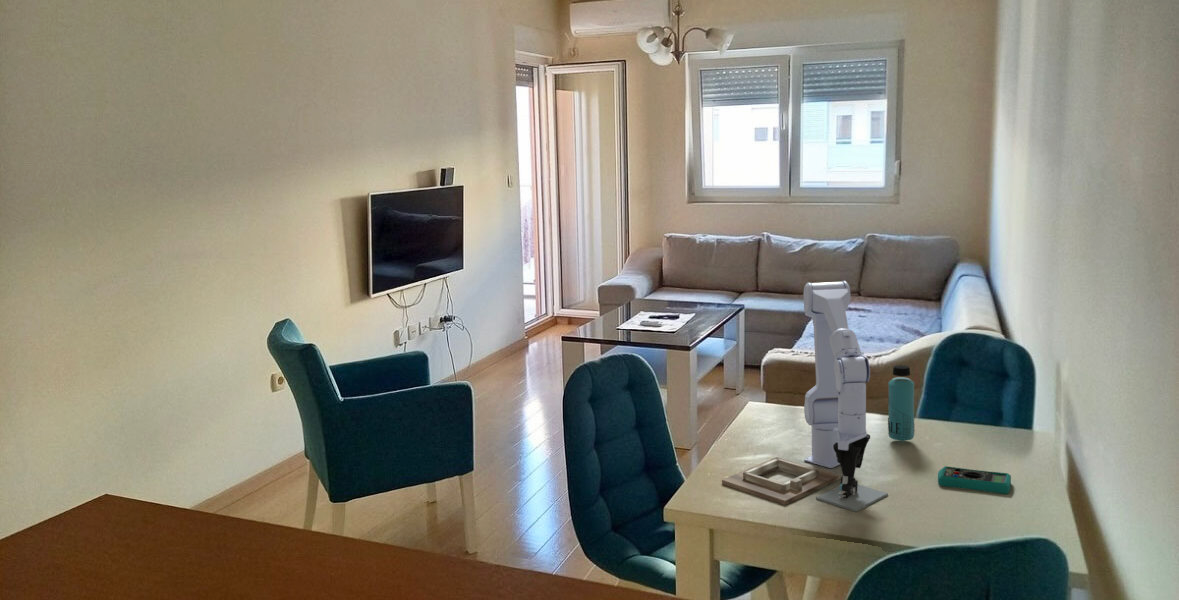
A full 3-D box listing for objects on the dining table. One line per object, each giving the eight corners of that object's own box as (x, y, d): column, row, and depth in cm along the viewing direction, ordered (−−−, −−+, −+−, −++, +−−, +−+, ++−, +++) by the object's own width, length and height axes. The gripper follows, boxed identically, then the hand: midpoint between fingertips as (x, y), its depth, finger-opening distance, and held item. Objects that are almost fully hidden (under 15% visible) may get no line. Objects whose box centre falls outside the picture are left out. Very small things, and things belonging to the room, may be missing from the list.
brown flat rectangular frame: (776, 460, 223) (776, 449, 223) (839, 479, 210) (839, 466, 209) (722, 483, 211) (721, 471, 210) (785, 505, 197) (785, 491, 197)
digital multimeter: (940, 476, 210) (940, 463, 209) (1011, 484, 203) (1012, 472, 202) (935, 487, 203) (936, 475, 203) (1009, 496, 196) (1009, 484, 196)
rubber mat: (848, 483, 207) (848, 481, 207) (887, 495, 199) (887, 493, 199) (816, 499, 199) (816, 497, 199) (856, 511, 192) (856, 509, 192)
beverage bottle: (917, 440, 233) (918, 363, 229) (911, 448, 227) (911, 370, 224) (891, 436, 236) (891, 361, 233) (884, 444, 231) (884, 367, 227)
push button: (851, 503, 195) (852, 459, 193) (828, 496, 199) (829, 453, 196) (864, 492, 200) (865, 449, 198) (841, 486, 204) (842, 444, 201)
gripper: (842, 400, 204) (843, 458, 206) (823, 418, 192) (823, 480, 194) (874, 403, 200) (874, 462, 203) (857, 422, 188) (857, 485, 191)
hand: (852, 471), depth 198 cm, fingers closed on push button, 5 cm apart
